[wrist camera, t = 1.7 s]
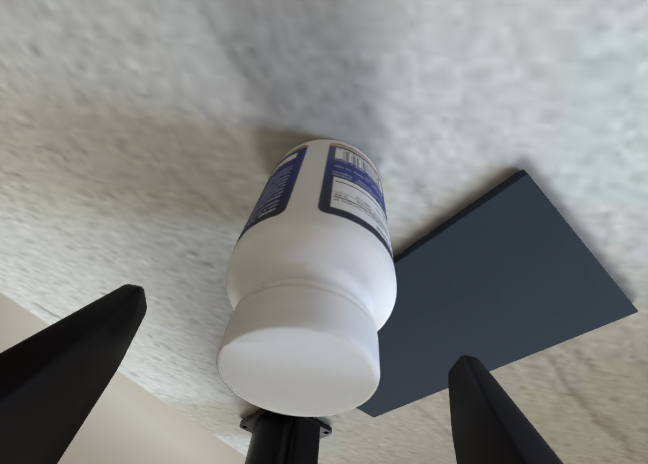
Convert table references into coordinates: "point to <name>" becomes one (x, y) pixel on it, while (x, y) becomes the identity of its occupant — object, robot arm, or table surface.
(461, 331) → the rubber mat
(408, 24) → the table surface
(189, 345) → the table surface
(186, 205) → the table surface
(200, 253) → the table surface
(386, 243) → the pill bottle
